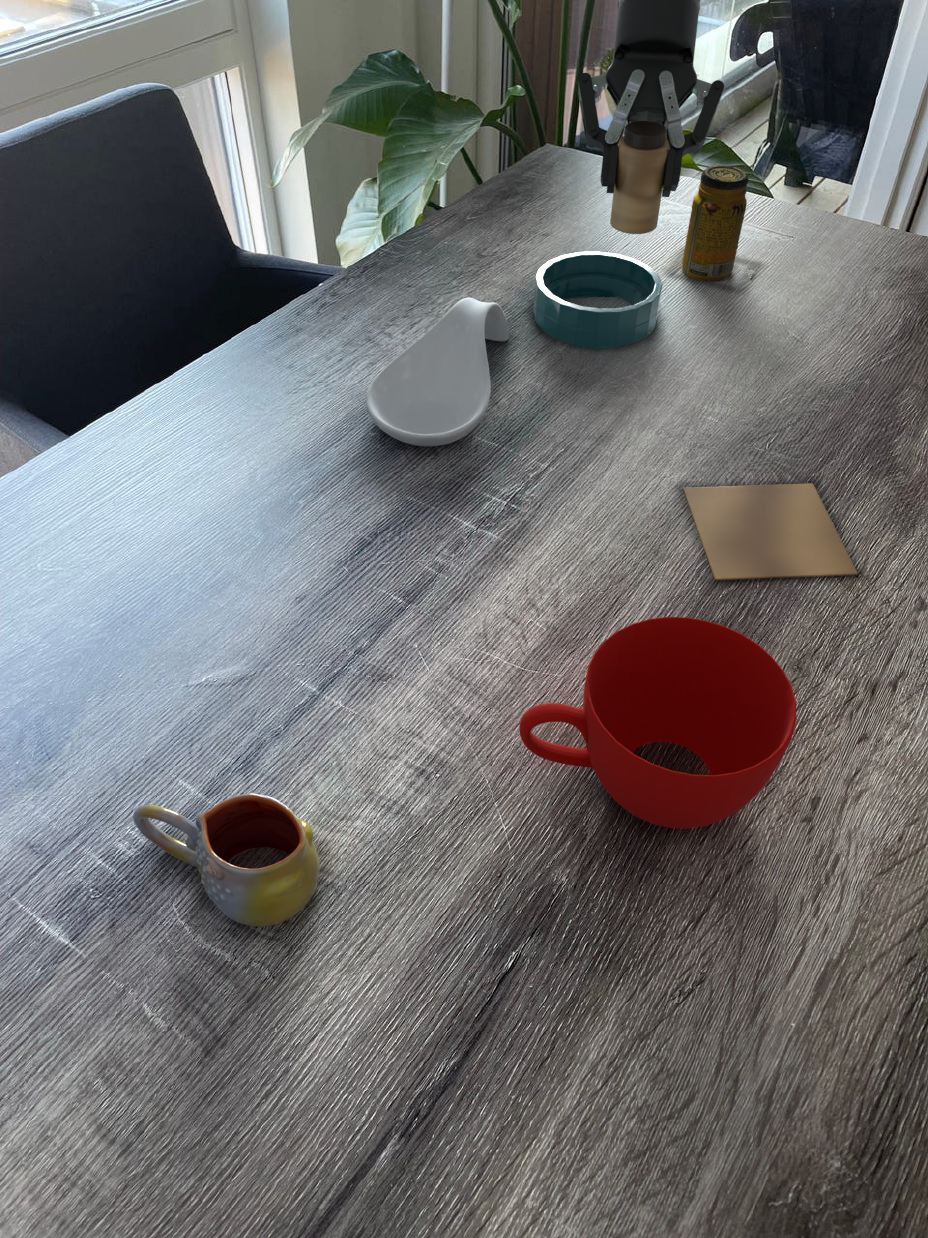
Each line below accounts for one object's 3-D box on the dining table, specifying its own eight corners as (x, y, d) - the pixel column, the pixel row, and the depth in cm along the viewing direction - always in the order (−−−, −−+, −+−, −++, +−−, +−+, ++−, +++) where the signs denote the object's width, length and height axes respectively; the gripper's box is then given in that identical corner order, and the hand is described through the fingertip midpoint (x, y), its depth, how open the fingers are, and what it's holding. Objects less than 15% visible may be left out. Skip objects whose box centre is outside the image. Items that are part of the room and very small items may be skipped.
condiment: (687, 256, 123) (705, 156, 115) (755, 271, 121) (778, 170, 112) (668, 281, 119) (686, 179, 110) (738, 298, 116) (761, 194, 108)
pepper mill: (652, 213, 100) (665, 118, 94) (661, 233, 97) (675, 137, 90) (606, 214, 100) (616, 119, 93) (614, 234, 97) (625, 137, 90)
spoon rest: (464, 476, 92) (465, 410, 87) (348, 449, 95) (342, 384, 90) (538, 349, 108) (542, 287, 103) (436, 329, 110) (435, 267, 105)
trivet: (810, 491, 91) (813, 482, 90) (855, 582, 83) (858, 573, 82) (680, 496, 91) (682, 487, 90) (713, 588, 82) (715, 579, 81)
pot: (642, 291, 117) (648, 250, 113) (666, 352, 108) (674, 310, 104) (526, 293, 116) (529, 252, 113) (541, 356, 107) (544, 313, 103)
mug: (341, 859, 64) (332, 801, 59) (290, 953, 60) (276, 898, 55) (180, 801, 67) (160, 740, 62) (120, 886, 63) (93, 828, 58)
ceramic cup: (504, 718, 72) (510, 622, 65) (733, 706, 73) (764, 611, 66) (524, 878, 63) (534, 788, 56) (785, 862, 64) (827, 772, 57)
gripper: (582, -19, 91) (562, 169, 91) (742, -12, 89) (721, 179, 90) (581, 29, 98) (562, 203, 99) (729, 36, 97) (709, 212, 97)
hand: (638, 190), depth 94 cm, fingers closed on pepper mill, 4 cm apart
